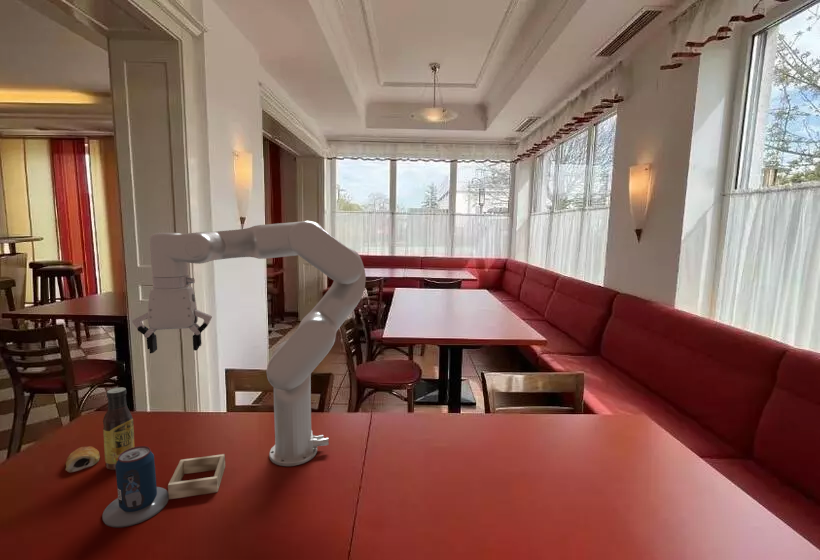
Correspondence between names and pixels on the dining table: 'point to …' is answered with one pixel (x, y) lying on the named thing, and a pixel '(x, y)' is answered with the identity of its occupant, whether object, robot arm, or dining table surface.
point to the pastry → (82, 458)
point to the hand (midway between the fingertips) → (175, 350)
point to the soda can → (136, 479)
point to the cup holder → (197, 485)
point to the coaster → (120, 518)
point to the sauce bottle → (117, 427)
